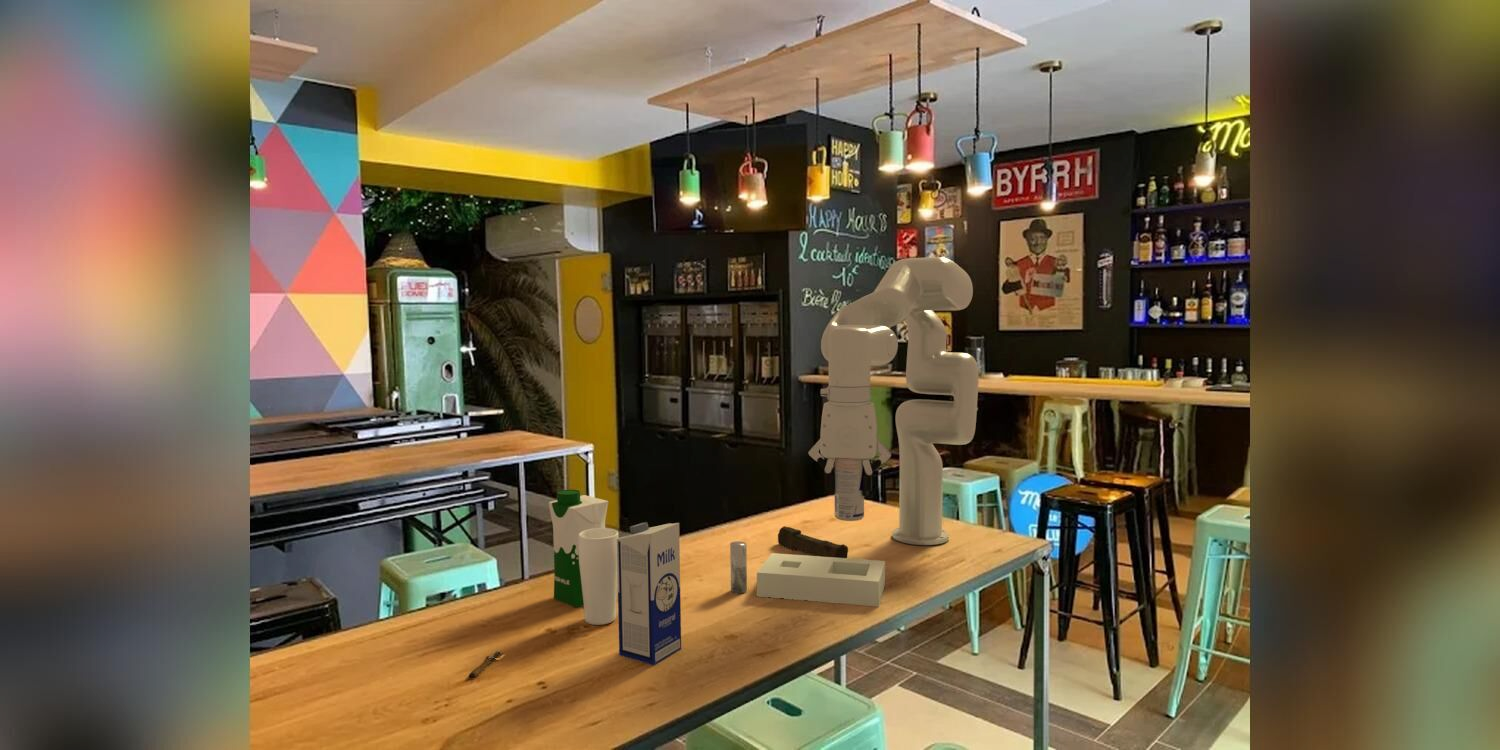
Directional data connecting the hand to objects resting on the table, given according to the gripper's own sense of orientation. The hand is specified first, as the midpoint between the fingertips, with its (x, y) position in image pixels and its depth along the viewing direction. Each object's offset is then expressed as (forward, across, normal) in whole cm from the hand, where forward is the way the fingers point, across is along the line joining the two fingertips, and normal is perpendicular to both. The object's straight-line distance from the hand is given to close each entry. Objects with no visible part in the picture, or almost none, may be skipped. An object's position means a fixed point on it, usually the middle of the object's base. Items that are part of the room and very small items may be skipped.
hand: (849, 493), depth 147 cm
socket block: (+19, -5, 0) cm, 19 cm away
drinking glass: (+19, -39, -23) cm, 49 cm away
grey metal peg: (+19, -20, -4) cm, 28 cm away
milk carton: (+19, -26, -33) cm, 46 cm away
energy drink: (+5, 0, 0) cm, 5 cm away
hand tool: (+19, -12, +22) cm, 31 cm away
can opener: (+19, -48, -43) cm, 67 cm away
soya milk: (+19, -47, -14) cm, 53 cm away
